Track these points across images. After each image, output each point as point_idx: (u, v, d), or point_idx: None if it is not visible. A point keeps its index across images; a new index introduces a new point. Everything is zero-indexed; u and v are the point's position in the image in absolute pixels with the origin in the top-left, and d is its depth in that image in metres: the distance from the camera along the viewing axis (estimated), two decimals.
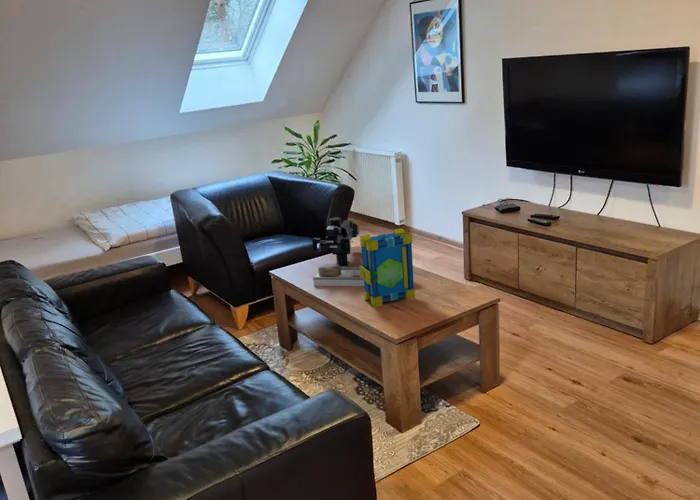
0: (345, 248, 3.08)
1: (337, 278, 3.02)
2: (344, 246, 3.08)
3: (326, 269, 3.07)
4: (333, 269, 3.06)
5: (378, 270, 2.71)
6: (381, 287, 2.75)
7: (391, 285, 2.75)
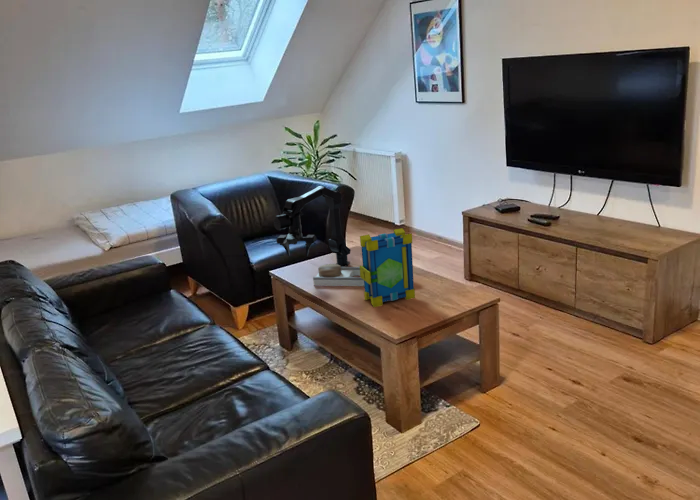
0: None
1: (337, 278, 3.02)
2: None
3: (326, 269, 3.07)
4: (333, 269, 3.06)
5: (378, 270, 2.71)
6: (381, 287, 2.75)
7: (391, 285, 2.75)
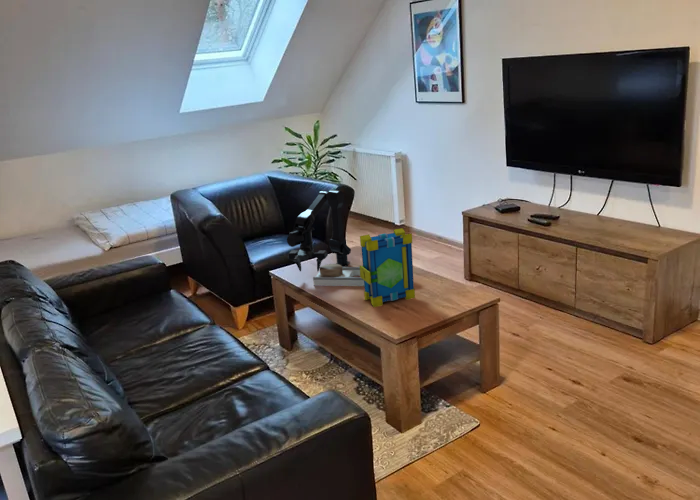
0: None
1: (337, 278, 3.02)
2: None
3: (327, 269, 3.07)
4: (334, 269, 3.06)
5: (378, 270, 2.71)
6: (381, 287, 2.75)
7: (391, 285, 2.75)
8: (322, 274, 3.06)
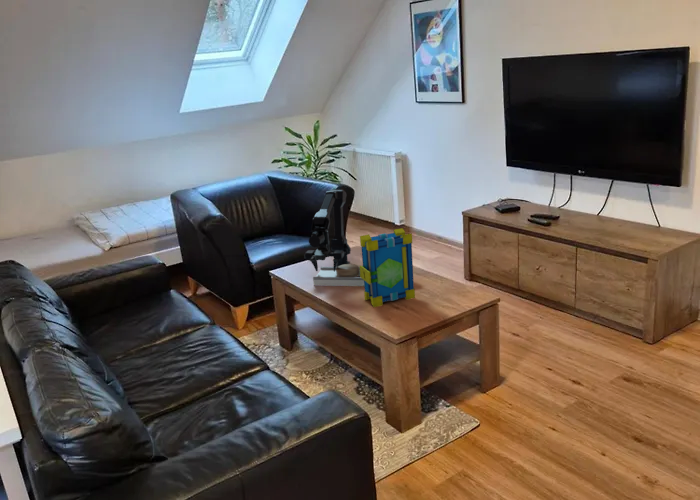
0: None
1: (337, 278, 3.02)
2: None
3: (343, 269, 3.05)
4: (351, 270, 3.03)
5: (378, 270, 2.71)
6: (381, 287, 2.75)
7: (391, 285, 2.75)
8: (338, 274, 3.04)
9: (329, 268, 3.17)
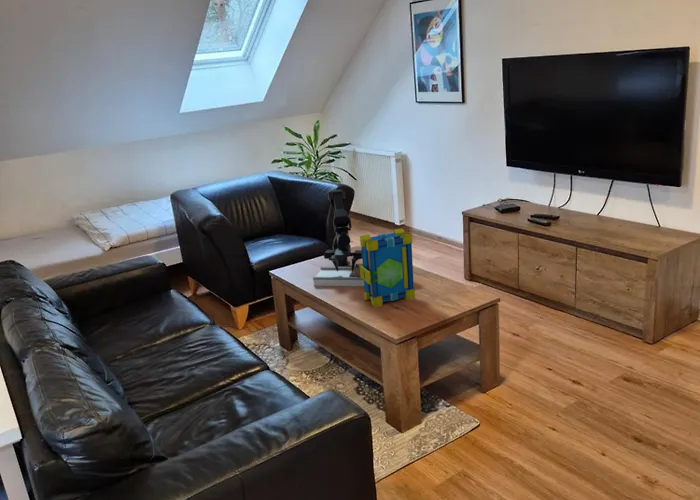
0: None
1: (337, 278, 3.02)
2: None
3: None
4: None
5: (378, 270, 2.71)
6: (381, 287, 2.75)
7: (391, 285, 2.75)
8: (356, 273, 3.02)
9: (329, 268, 3.17)
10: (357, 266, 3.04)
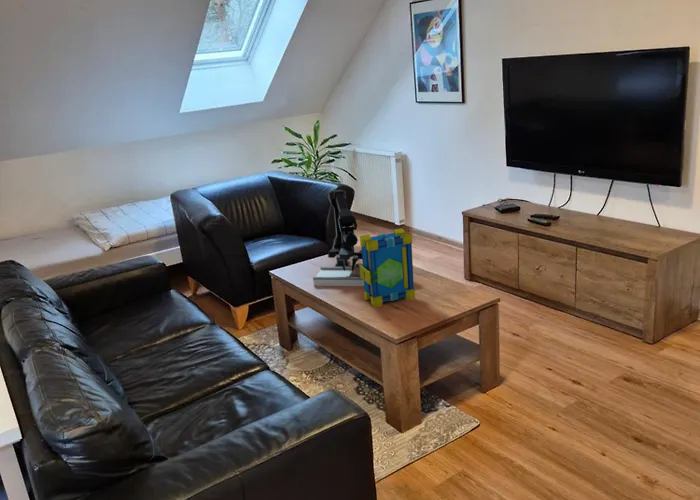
0: None
1: (337, 278, 3.02)
2: None
3: None
4: None
5: (378, 270, 2.71)
6: (381, 287, 2.75)
7: (391, 285, 2.75)
8: (356, 272, 3.02)
9: (329, 268, 3.17)
10: (357, 266, 3.04)
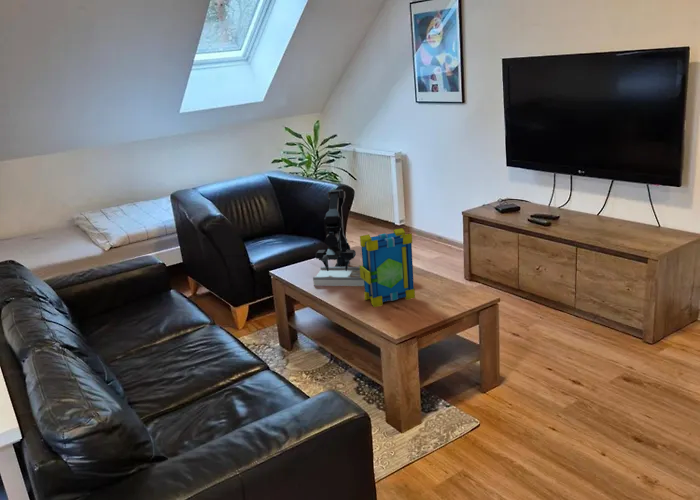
0: None
1: (337, 278, 3.02)
2: None
3: (358, 275, 3.05)
4: None
5: (378, 270, 2.71)
6: (381, 287, 2.75)
7: (391, 285, 2.75)
8: None
9: (329, 268, 3.17)
10: (352, 274, 3.07)
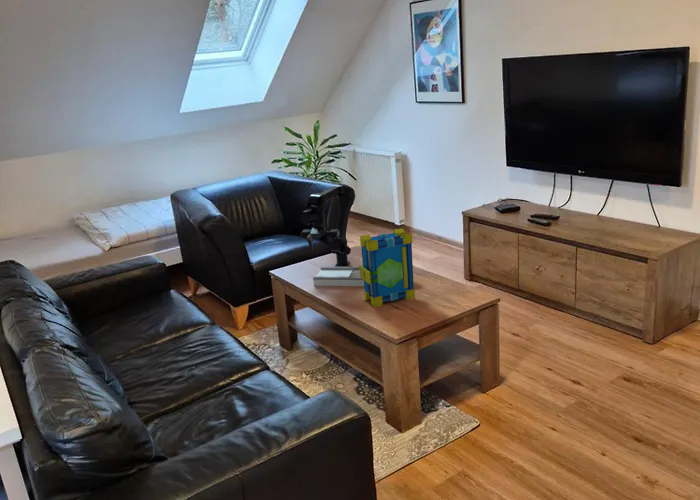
0: None
1: (337, 278, 3.02)
2: None
3: (357, 275, 3.05)
4: None
5: (378, 270, 2.71)
6: (381, 287, 2.75)
7: (391, 285, 2.75)
8: None
9: (329, 268, 3.17)
10: (352, 274, 3.07)
